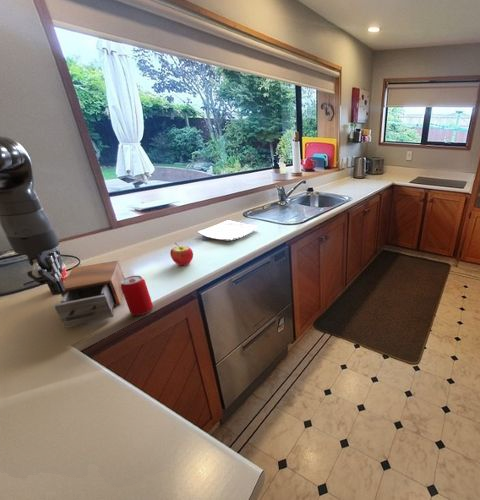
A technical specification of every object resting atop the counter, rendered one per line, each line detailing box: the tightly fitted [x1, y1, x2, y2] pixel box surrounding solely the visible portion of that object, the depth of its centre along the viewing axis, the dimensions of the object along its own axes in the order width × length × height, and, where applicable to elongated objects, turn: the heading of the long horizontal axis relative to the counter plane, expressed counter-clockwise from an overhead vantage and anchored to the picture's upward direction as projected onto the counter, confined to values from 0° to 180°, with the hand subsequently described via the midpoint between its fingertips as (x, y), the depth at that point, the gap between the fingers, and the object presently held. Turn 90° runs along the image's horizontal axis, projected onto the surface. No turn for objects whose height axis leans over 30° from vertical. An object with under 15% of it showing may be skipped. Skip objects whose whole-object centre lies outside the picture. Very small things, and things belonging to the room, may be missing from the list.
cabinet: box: [60, 260, 126, 307], centre depth 96 cm, size 16×13×10 cm
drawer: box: [53, 283, 115, 328], centre depth 88 cm, size 19×11×8 cm, turn 30°
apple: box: [169, 242, 194, 266], centre depth 121 cm, size 8×8×10 cm
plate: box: [197, 219, 259, 242], centre depth 155 cm, size 24×24×3 cm
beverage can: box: [121, 275, 154, 316], centre depth 90 cm, size 6×6×12 cm
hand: (59, 292), depth 72 cm, fingers closed
